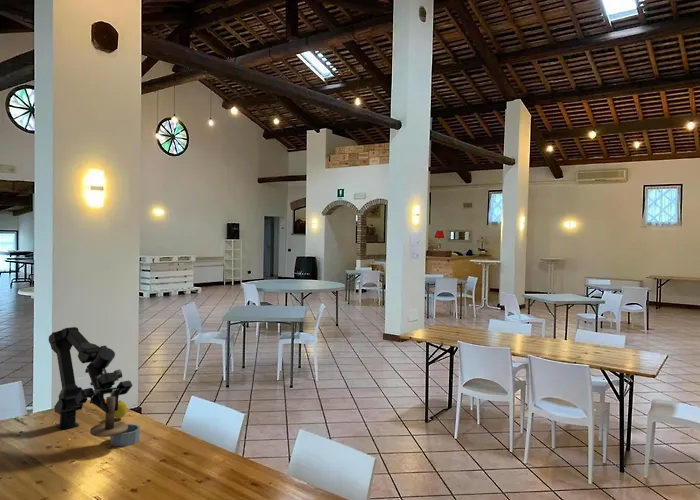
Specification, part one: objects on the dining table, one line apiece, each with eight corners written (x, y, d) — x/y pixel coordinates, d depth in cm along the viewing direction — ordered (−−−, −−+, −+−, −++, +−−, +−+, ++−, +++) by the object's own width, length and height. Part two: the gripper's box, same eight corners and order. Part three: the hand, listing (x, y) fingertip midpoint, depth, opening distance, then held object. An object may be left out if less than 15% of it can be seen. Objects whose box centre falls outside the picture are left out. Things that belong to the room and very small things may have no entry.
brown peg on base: (82, 434, 168) (84, 400, 168) (105, 422, 180) (106, 391, 180) (113, 438, 166) (115, 404, 166) (134, 426, 178) (136, 394, 179)
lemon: (128, 417, 204) (129, 399, 204) (121, 421, 199) (122, 402, 199) (116, 416, 205) (117, 398, 205) (109, 420, 199) (110, 401, 200)
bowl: (105, 440, 179) (106, 428, 179) (131, 433, 187) (132, 422, 187) (118, 448, 173) (118, 435, 173) (144, 440, 181) (145, 428, 181)
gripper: (81, 367, 168) (95, 405, 162) (131, 359, 183) (145, 393, 177) (69, 385, 173) (82, 422, 166) (119, 375, 188) (133, 410, 181)
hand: (112, 411), depth 173 cm, fingers closed on brown peg on base, 3 cm apart
